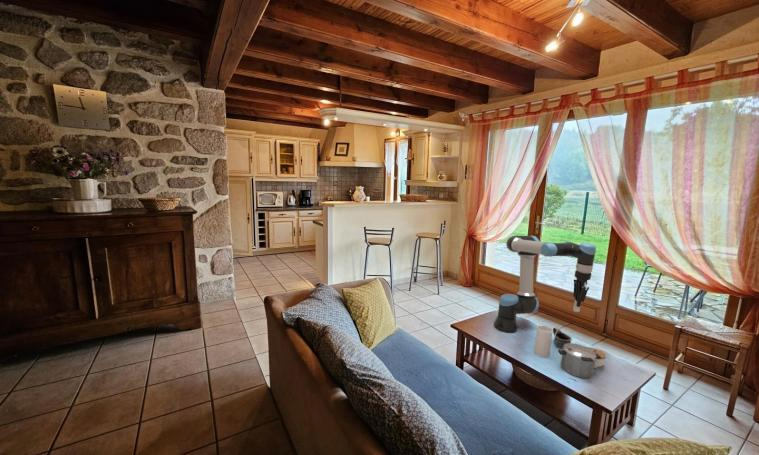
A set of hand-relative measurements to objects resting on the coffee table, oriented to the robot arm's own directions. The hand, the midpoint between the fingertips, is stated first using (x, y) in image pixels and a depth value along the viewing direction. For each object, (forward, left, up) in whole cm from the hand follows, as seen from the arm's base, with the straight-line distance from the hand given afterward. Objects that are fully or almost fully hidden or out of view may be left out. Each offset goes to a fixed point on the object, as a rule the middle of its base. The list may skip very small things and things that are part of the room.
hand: (576, 311), depth 181 cm
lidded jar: (+2, +12, -31) cm, 33 cm away
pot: (+9, 0, -30) cm, 32 cm away
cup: (-5, -13, -31) cm, 34 cm away
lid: (+10, 0, -20) cm, 22 cm away
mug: (-18, +2, -31) cm, 35 cm away
